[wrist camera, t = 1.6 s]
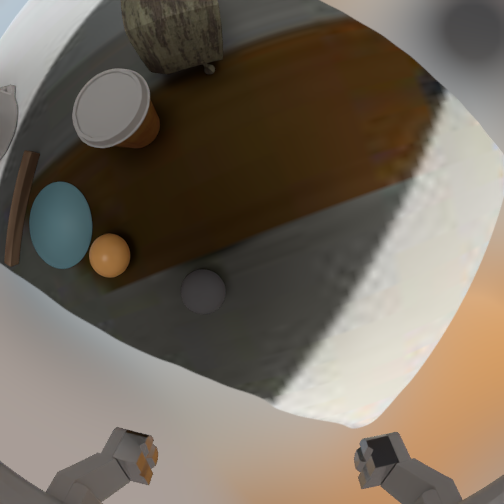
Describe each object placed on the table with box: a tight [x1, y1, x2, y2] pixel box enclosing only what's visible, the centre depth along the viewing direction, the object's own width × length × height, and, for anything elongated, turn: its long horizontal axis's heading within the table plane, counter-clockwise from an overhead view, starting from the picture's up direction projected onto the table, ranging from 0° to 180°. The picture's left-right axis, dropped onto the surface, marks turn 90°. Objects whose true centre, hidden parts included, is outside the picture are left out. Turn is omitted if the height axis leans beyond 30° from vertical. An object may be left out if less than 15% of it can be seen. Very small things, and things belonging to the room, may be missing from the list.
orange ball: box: [89, 234, 130, 277], centre depth 34 cm, size 6×6×6 cm
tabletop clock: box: [121, 0, 223, 75], centre depth 20 cm, size 14×9×25 cm, turn 15°
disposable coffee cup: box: [72, 69, 160, 148], centre depth 28 cm, size 10×10×12 cm
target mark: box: [29, 182, 92, 269], centre depth 36 cm, size 14×14×1 cm
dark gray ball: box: [181, 269, 226, 314], centre depth 36 cm, size 6×6×6 cm
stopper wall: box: [4, 150, 40, 267], centre depth 33 cm, size 2×20×2 cm, turn 159°
